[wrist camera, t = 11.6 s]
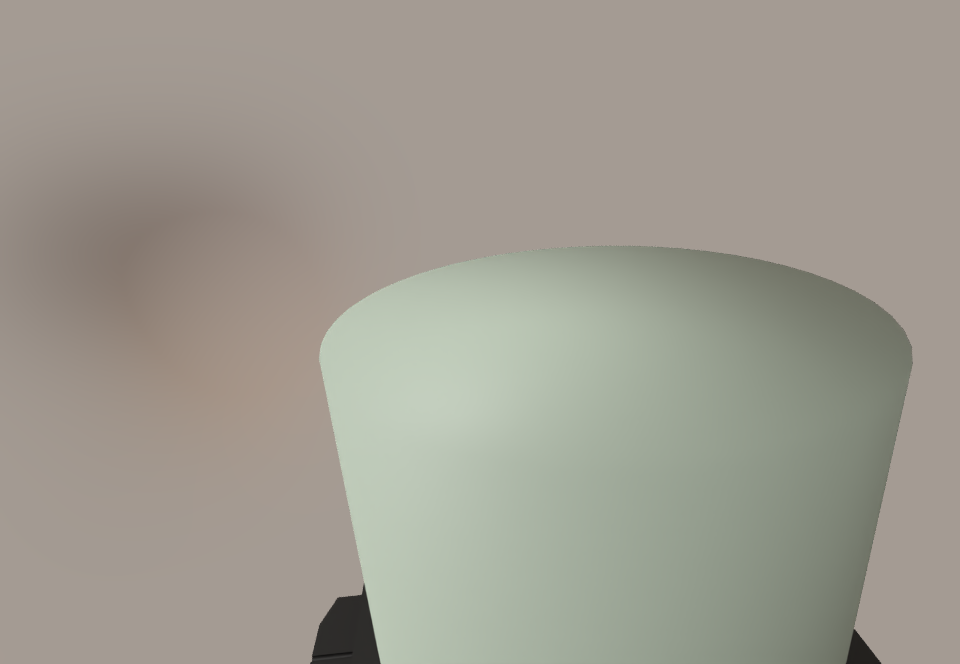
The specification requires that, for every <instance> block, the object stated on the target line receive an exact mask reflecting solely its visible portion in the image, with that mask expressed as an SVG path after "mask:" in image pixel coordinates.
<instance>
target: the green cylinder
mask: <svg viewBox="0 0 960 664" xmlns="http://www.w3.org/2000/svg"><path fill="white" fill-rule="evenodd" d="M319 361H320V365H321V370H322V375H323V380H324V385H325V390H326V395H327V400H328V405H329V410H330V415H331V420H332V425H333V430H334V434H335V440H336V445H337V450H338V455H339V460H340V465H341V469H342V474H343V479H344V484H345V489H346V494H347V499H348V504H349V508H350V514H351V519H352V524H353V529H354V534H355V538H356V543H357V548H358V554H359V559H360V563H361V568H362V573H363V578H364V583H365V588H366V593H367V598H368V603H369V608H370V613H371V618H372V623H373V628H374V633H375V638H376V643H377V648H378V653H379V658H380V663H381V664H846V661H847V657H848V652H849V648H850V643H851V639H852V634H853V630H854V625H855V621H856V616H857V611H858V607H859V603H860V598H861V593H862V589H863V584H864V580H865V576H866V571H867V566H868V562H869V557H870V553H871V549H872V544H873V540H874V534H875V531H876V526H877V521H878V517H879V513H880V508H881V503H882V499H883V494H884V490H885V486H886V481H887V476H888V472H889V468H890V463H891V458H892V454H893V449H894V445H895V441H896V436H897V431H898V427H899V422H900V418H901V414H902V409H903V405H904V400H905V396H906V391H907V387H908V382H909V378H910V373H911V369H912V364H913V362H912V346H911V344H910V342H909V340H908V338H907V335H906V333H905V331H904V329H903V328H902V327H901V326H900V325H899V324H898V323H897V322H896V320H895V319H894V318H893V317H892V316H891V315H890V314H888V312H886V311H885V310H884V309H882V308H881V307H880V306H878V305H877V304H876V303H875V302H873V301H871V300H870V299H868V298H866V297H864V296H863V295H861V294H859V293H857V292H856V291H854V290H852V289H849V288H847V287H845V286H843V285H840V284H838V283H836V282H833V281H831V280H828V279H826V278H823V277H820V276H817V275H814V274H812V273H809V272H805V271H802V270H798V269H795V268H791V267H788V266H784V265H780V264H776V263H771V262H767V261H763V260H758V259H753V258H747V257H742V256H737V255H731V254H723V253H716V252H709V251H700V250H690V249H681V248H664V247H645V246H644V247H643V246H586V247H567V248H552V249H542V250H532V251H524V252H516V253H508V254H502V255H496V256H490V257H484V258H479V259H474V260H470V261H465V262H460V263H456V264H452V265H448V266H444V267H440V268H437V269H434V270H430V271H427V272H424V273H420V274H417V275H415V276H412V277H409V278H407V279H404V280H401V281H399V282H396V283H394V284H392V285H389V286H387V287H385V288H383V289H380V290H379V291H377V292H375V293H373V294H371V295H369V296H368V297H366V298H364V299H362V300H361V301H360V302H358V303H356V304H355V305H353V306H352V307H350V308H349V309H348V310H347V311H346V312H345V313H344V314H342V315H341V316H340V317H339V318H338V319H337V320H336V321H335V322H334V324H333V325H332V326H331V328H330V329H329V330H328V331H327V333H326V335H325V337H324V339H323V342H322V344H321V349H320V356H319Z"/></svg>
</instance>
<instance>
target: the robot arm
mask: <svg viewBox="0 0 960 664" xmlns="http://www.w3.org/2000/svg"><path fill="white" fill-rule="evenodd" d="M310 664H381V663H380V658H379V653H378V648H377V643H376V638H375V633H374V628H373V623H372V618H371V613H370V608H369V603H368V598H367V593H366V588H365V583H364V586H363V592H362V595H358V596H348V597H339V598H337V600H336V601H335V603H334V605H333V606H332V607H331V609H330V610H329V612H328V613H327V615H326V616H325V618H324V619H323V621H322V622H321V623H320V625H319V629H318V633H317V638H316V642H315V646H314V650H313V654H312V662H311V663H310ZM846 664H881V662H880V661H879V660H878V659H877V657H876V656H875V655H874V653H873V652H872V651H871V650H870V648H869V647H868V646H867V644H866V643H865V642H864V641H863V640H862V638H861V637H860V635H859V634H858V633H857V632H856V630H853V634H852V639H851V643H850V648H849V652H848V657H847V661H846Z"/></svg>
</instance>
